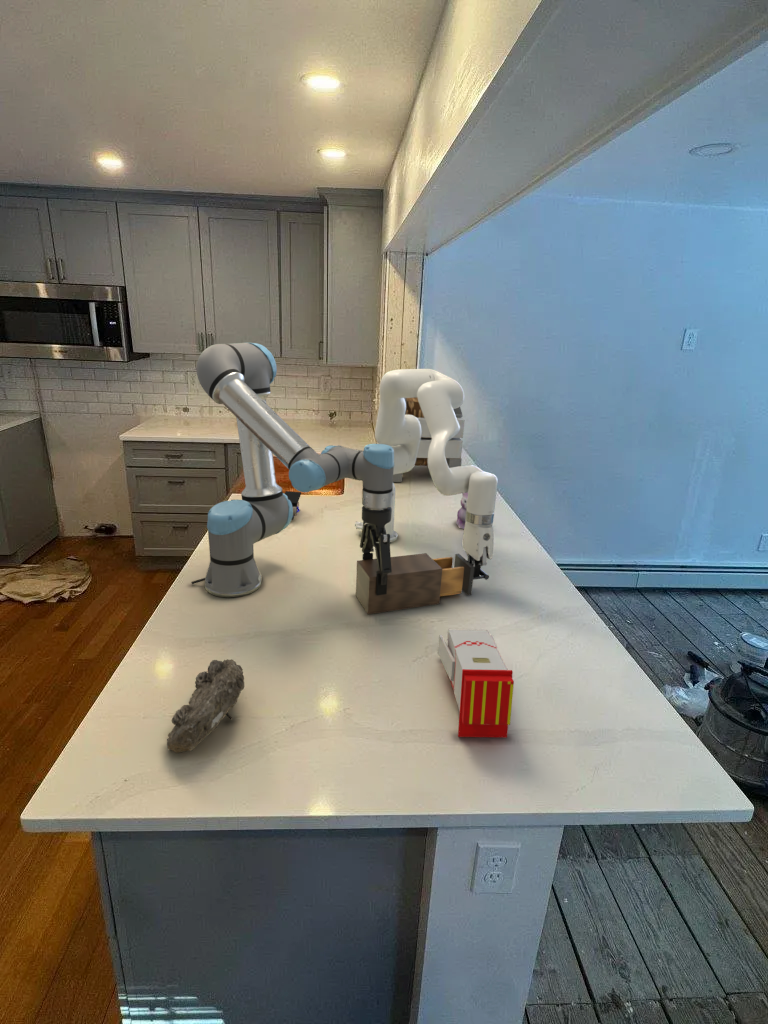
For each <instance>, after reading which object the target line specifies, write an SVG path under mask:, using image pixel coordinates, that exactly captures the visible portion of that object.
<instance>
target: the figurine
mask: <svg viewBox="0 0 768 1024" xmlns="http://www.w3.org/2000/svg"><path fill="white" fill-rule="evenodd" d="M461 494H462V497H461V500H460V506H461V508H459V509H458V510H457V513H456V517H457V518H456V522H455V523H456V526H458V528H459V529H463V530H464V527H465V519H466V510H467V499H468V493H461Z"/></svg>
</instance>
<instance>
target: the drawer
mask: <svg viewBox="0 0 768 1024" xmlns="http://www.w3.org/2000/svg"><path fill="white" fill-rule="evenodd" d="M432 559H433V560H434V561H435V562H436V563H437V564H438V565H439V566H440V567H441V568H442V578H441V589H440V597H446V596H453V595H459V594H460V595H461V594H462V592H463V593H464V594H466V596H472V593H473V584H474V580H480V579H481V580H482V579H483V580H489V579H490V575H489V574H488V573H486V572H485V571H484V570H483V569H482V568H481V569H480V576H476V577H473V576H474V566H473V565H472V564H470V563H469V562H468V559H466V558H465V557H464V556H462V555H461V554H460V553H455V554H454V557H453V556H446V557H438V558H432ZM453 561H454V563H453Z"/></svg>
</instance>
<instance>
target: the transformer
mask: <svg viewBox="0 0 768 1024" xmlns="http://www.w3.org/2000/svg"><path fill="white" fill-rule="evenodd" d="M404 399H405V402H406V412H405V415H413V416H415V417H416V418H417V419H418V420H419V422H420V425H421V439H420V444H419V449H418V453H417V458H416V462H415V465H414V467H415V466H416V467H417V466H418V467H428V450H429V446H430V443H431V440H432V438H431V434H430V432H429V429H428V426H427V423H426V421H425V418H424V415H423V413H422V410H421V407H420V404H419V402H418V398H404ZM453 410H454V413H455V415H456V418H457V421H458V423H459V426H460V431H459V432H458V434H457V435H455V436H454V437H453V438H451V439H450V440H448V442H447V443H446V446H445V458H446V461H447V464H448V466H449V468H452V467H458V466H462V461H463V460H462V453H463V442H464V441H463V440H462V439H463V438H464V431H465V430H464V429H465V419H464V418H463V411H462V408H461V406H460V407H459V408H456V409H453ZM392 446H396V445H392ZM403 475H404V473H400V474H394V475H393V483H402V482H403Z"/></svg>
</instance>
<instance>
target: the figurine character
mask: <svg viewBox="0 0 768 1024" xmlns="http://www.w3.org/2000/svg"><path fill="white" fill-rule="evenodd" d="M284 494H285V495H287V497H288V500H290V501H291V503H292V507H293V517H292V520H291V521H293V520H295V519H294V518H295V517H297V515H298V513H299V512H300V511H301V510H300V502H299V500H300V499H301V495H302V492H300V491H290V490H289V491H288V490H285V492H284Z"/></svg>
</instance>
